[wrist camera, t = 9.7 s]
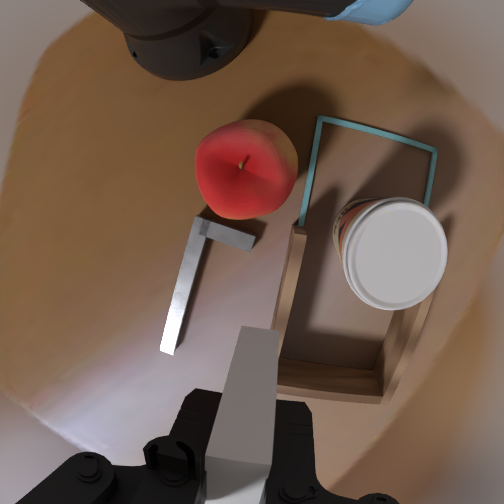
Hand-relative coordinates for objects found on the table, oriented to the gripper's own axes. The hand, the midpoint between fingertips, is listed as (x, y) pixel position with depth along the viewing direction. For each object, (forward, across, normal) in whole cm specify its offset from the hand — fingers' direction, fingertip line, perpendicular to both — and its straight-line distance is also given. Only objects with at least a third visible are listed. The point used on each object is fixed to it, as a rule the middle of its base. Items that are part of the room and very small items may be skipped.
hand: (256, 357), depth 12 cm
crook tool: (+24, -7, -8) cm, 26 cm away
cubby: (+24, +9, -8) cm, 27 cm away
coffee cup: (+24, +10, +2) cm, 26 cm away
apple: (+24, -3, +7) cm, 26 cm away
